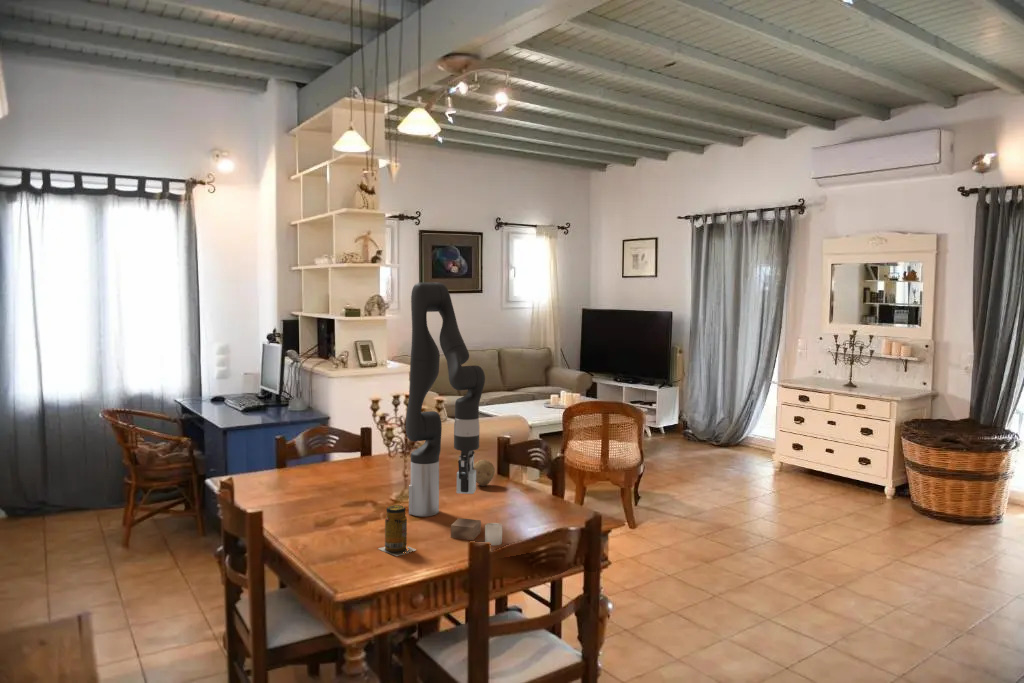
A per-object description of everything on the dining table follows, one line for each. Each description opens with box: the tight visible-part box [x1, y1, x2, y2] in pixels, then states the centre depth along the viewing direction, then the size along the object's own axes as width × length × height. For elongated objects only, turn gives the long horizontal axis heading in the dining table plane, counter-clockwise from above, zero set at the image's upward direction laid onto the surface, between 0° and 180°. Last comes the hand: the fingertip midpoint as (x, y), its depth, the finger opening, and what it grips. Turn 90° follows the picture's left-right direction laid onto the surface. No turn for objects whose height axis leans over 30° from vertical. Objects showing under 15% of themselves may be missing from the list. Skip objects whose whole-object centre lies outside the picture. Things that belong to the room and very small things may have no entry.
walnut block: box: [450, 517, 482, 541], centre depth 221 cm, size 7×7×4 cm
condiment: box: [377, 504, 417, 557], centre depth 208 cm, size 7×8×12 cm
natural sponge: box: [474, 459, 496, 487], centre depth 274 cm, size 9×9×10 cm
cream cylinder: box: [484, 522, 503, 546], centre depth 215 cm, size 5×5×5 cm
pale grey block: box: [456, 470, 477, 495], centre depth 220 cm, size 5×5×6 cm
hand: (466, 489), depth 220 cm, fingers closed on pale grey block, 5 cm apart
